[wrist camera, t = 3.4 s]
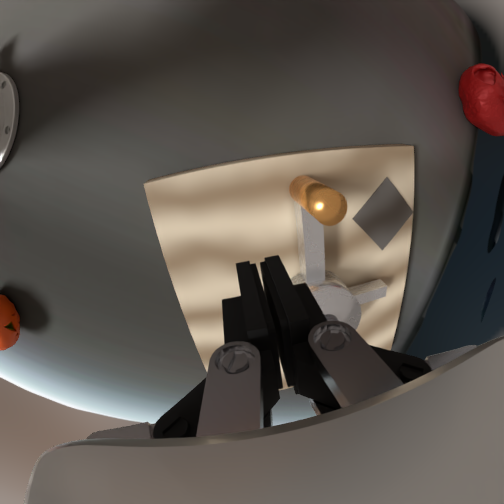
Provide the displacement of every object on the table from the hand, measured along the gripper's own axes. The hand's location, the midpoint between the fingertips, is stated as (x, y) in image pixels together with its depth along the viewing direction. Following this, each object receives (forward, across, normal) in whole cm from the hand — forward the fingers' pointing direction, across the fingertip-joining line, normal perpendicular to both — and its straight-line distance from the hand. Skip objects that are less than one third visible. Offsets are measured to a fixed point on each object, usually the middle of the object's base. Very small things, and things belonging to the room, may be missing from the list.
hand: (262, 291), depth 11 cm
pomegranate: (+16, -34, -10) cm, 39 cm away
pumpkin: (+15, +34, +6) cm, 38 cm away
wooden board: (+16, -6, +12) cm, 20 cm away
